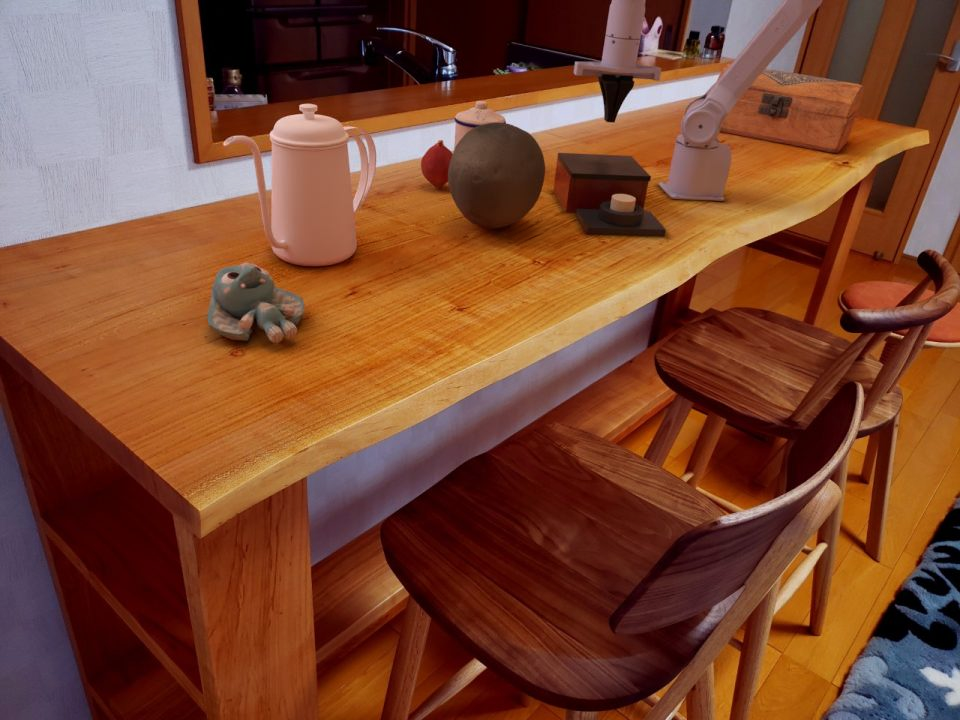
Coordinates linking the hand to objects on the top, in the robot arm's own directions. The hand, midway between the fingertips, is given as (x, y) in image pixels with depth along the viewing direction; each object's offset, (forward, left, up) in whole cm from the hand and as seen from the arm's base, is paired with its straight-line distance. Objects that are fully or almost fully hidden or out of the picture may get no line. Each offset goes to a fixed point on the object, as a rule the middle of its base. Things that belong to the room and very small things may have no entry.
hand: (609, 121), depth 130 cm
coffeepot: (+48, +37, -11) cm, 61 cm away
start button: (+3, +24, -8) cm, 25 cm away
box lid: (+4, +13, -5) cm, 15 cm away
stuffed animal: (+52, +57, -11) cm, 78 cm away
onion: (+30, +8, -11) cm, 33 cm away
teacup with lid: (+21, -5, -11) cm, 24 cm away
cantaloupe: (+23, +26, -11) cm, 36 cm away
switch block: (+3, +24, -10) cm, 26 cm away
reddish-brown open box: (+4, +13, -10) cm, 17 cm away
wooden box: (-52, -39, -11) cm, 66 cm away
